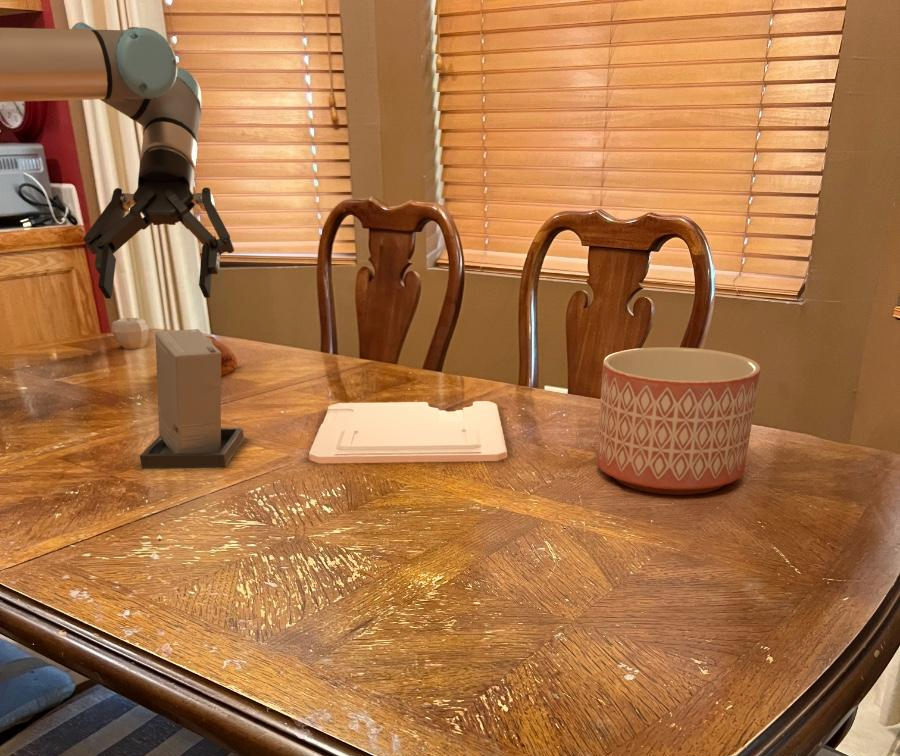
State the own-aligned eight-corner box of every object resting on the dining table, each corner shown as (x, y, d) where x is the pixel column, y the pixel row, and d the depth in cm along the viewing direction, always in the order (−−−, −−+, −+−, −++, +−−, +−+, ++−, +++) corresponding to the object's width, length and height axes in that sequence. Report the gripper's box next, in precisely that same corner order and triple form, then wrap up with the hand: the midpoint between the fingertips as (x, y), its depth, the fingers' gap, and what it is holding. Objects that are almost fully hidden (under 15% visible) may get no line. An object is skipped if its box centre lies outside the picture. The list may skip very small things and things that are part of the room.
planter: (660, 511, 103) (674, 389, 97) (567, 466, 118) (573, 357, 111) (774, 483, 112) (794, 368, 105) (673, 444, 126) (685, 341, 120)
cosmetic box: (158, 437, 125) (147, 331, 115) (206, 429, 128) (198, 325, 119) (179, 464, 119) (168, 354, 110) (228, 454, 123) (222, 347, 113)
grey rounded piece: (137, 343, 196) (132, 313, 193) (159, 347, 192) (154, 316, 189) (107, 349, 191) (101, 318, 188) (129, 353, 187) (123, 322, 184)
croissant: (148, 387, 168) (135, 347, 164) (204, 361, 179) (194, 322, 175) (200, 394, 161) (188, 353, 157) (256, 366, 172) (246, 326, 168)
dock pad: (142, 470, 119) (139, 455, 118) (167, 442, 130) (165, 428, 129) (225, 469, 119) (223, 454, 118) (244, 441, 130) (242, 427, 129)
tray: (330, 410, 145) (330, 401, 144) (496, 407, 145) (496, 398, 144) (308, 465, 120) (307, 454, 119) (508, 462, 120) (508, 451, 120)
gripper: (259, 185, 127) (251, 308, 121) (91, 187, 127) (74, 309, 121) (248, 145, 120) (239, 272, 114) (70, 146, 120) (51, 274, 114)
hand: (154, 292), depth 117 cm, fingers open, 13 cm apart
